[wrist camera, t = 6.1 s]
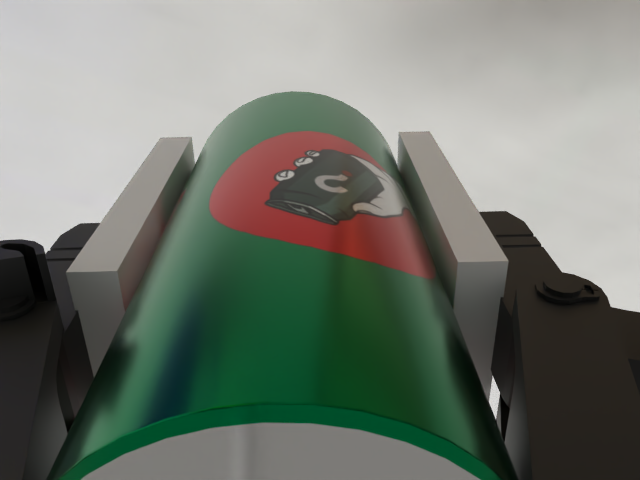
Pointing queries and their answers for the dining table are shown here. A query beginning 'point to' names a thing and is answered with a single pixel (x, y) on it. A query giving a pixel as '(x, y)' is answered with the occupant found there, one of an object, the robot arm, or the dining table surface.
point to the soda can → (288, 324)
